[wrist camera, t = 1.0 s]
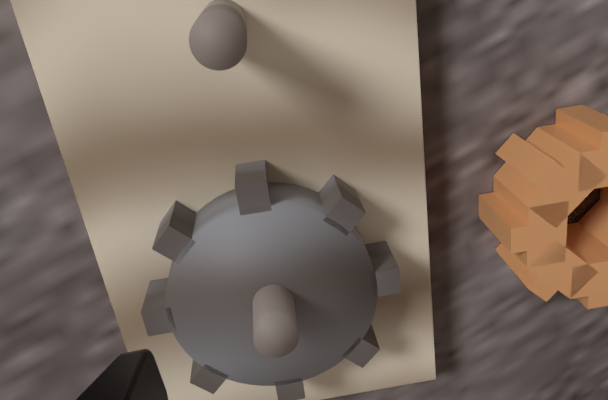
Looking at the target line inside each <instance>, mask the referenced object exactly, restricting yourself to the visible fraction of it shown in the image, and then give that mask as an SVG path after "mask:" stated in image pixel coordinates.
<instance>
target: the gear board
mask: <svg viewBox="0 0 608 400" xmlns="http://www.w3.org/2000/svg"><path fill="white" fill-rule="evenodd" d="M10 1H11V4H12V7H13V10H14V13H15V16H16V19H17V22H18V25H19V28H20V31H21V34H22V37H23V40H24V43H25V46H26V49H27V52H28V55H29V58H30V61H31V64H32V67H33V70H34V73H35V76H36V79H37V82H38V85H39V88H40V91H41V94H42V97H43V100H44V103H45V106H46V109H47V112H48V115H49V118H50V121H51V124H52V127H53V130H54V133H55V136H56V139H57V142H58V145H59V148H60V151H61V154H62V157H63V160H64V163H65V166H66V169H67V172H68V175H69V178H70V181H71V184H72V187H73V190H74V193H75V196H76V199H77V202H78V205H79V208H80V211H81V214H82V217H83V220H84V223H85V226H86V229H87V232H88V235H89V238H90V241H91V244H92V247H93V250H94V253H95V256H96V259H97V262H98V265H99V268H100V271H101V274H102V277H103V280H104V283H105V286H106V289H107V292H108V295H109V298H110V301H111V304H112V307H113V310H114V313H115V316H116V319H117V322H118V325H119V328H120V331H121V334H122V337H123V340H124V343H125V346H126V349H127V352H131V351H136V350H141V349H148V350H150V351H151V352H152V354H153V355H154V358H155V361H156V363H157V366H158V369H159V372H160V374H161V377H162V380H163V382H164V385H165V388H166V391H167V395H168V400H321V399H327V398H333V397H338V396H344V395H350V394H355V393H361V392H367V391H372V390H378V389H384V388H389V387H395V386H400V385H406V384H412V383H417V382H423V381H429V380H434V379H436V371H435V352H434V333H433V314H432V296H431V277H430V258H429V239H428V220H427V201H426V183H425V164H424V145H423V126H422V107H421V88H420V70H419V51H418V32H417V13H416V0H10Z"/></svg>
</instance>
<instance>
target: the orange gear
mask: <svg viewBox="0 0 608 400" xmlns="http://www.w3.org/2000/svg"><path fill="white" fill-rule="evenodd" d="M495 154H497V155H498V156H499V157H500V158H502V159H503V160H504V161H505V164H504V165H503V166H502V167H501V168H500V169H499V170H498V171H497V172H496V174H495V175H494V176H493V192H492V193H486V194H480V195H479V218H480V219H481V220H482V221H483V223H484V224H485V225H486V226H487V227H488V228H489V229H490V231H491V232H492V233H493V234H494V235H495V236H496V237H497V238H498V240H499V241H500V242H501V244H500V245H499V246H498V247H497V248H496V249H495V250H496V251H497V252H498V254H499V255H500V256H501V257H502V258H503V260H504V261H505V262H506V263H507V264H508V266H509V267H510V268H511V269H512V270H513V271H514V273H515V274H516V275H517V276H518V277H519V279H520V280H521V281H522V282H523V283H524V285H525V286H526V287H527V288H528V289H529V290H530V291H532V292H533V293H535V294H536V295H537V296H539V297H540V298H542V299H543V300H545V301H546V302H547V301H548V300H549V299H550V298H551V297H552V296H553V295H554V294H555V293H556V292H557V291H560V292H561V293H562V294H564V295H565V296H567V297H568V298H569V299H575V298H577V299H578V300H579V301H580V302H581V303H582V304H583V305H584V306H585V307H586V308H587V309H592V308H598V307H604V306H608V116H606V115H604V114H602V113H600V112H597V111H595V110H593V109H591V108H589V107H586V106H584V105H577V106H571V107H564V108H558V109H556V123H555V124H554V125H548V126H541V127H537V128H536V129H535V130H534V131H533V133H532V134H531V135H530V136H529V137H528V138H527V139H526V140H523V139H522V138H520V137H519V136H518V135H516V134H515V133H513V134H512V135H511V136H510V137H509V139H508V140H507V141H506V142H505V143H504V144H503V145H502V146H501V148H500V149H499V150H498V151H497V152H496V153H495ZM596 188H601V189H600V200H599V201H598V202H597V203H596V204H595V205H594V206H593V207H592V208H591V209H590V210H589V211H588V212H587V213H586V214H585V215H584V216H583V217H582V218H581V219H580V220H579V221H578V222H577V223H571V224H567V220H568V215H569V214H570V213H571V212H572V211H573V210H574V209H575V208H576V207H577V206H578V205H579V204H580V203H581V202H582V201H583V200H584V199H585V198H586V197H587V196H588V195H589V194H590V193H591V192H592V191H593V190H594V189H596Z"/></svg>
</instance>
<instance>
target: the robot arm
mask: <svg viewBox="0 0 608 400" xmlns="http://www.w3.org/2000/svg"><path fill="white" fill-rule="evenodd" d="M76 400H168V395H167V391H166V388H165V385H164V382H163V380H162V377H161V374H160V372H159V369H158V366H157V363H156V361H155V358H154V355H153V354H152V352H151V351H150V350H148V349H141V350H136V351H131V352H126V353H123V354H121V355H119V356H118V357H117V358H116V359H115V360H114V361H113V362H112V363H111V364H110V365H109V366H108V367H107V368H106V369H105V370H104V372H103V373H102V374H101V375H100V376H99V377H98V378H97V379H96V380H95V381H94V382H93V383H92V384H91V385H90V386H89V387H88V388H87V389H86V390H85V391H84V392H83V393H82V394H81V395H80V396H79V397H78V398H77V399H76Z"/></svg>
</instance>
